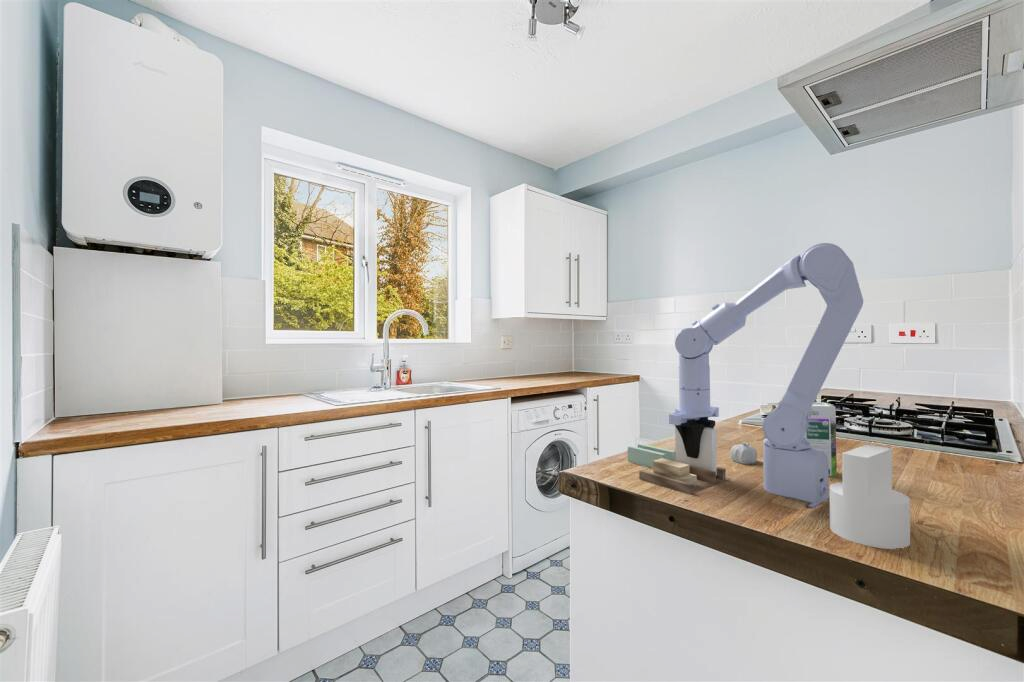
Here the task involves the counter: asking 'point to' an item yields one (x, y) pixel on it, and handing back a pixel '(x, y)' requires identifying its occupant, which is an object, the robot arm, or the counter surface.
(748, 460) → the garlic
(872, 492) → the cylinder with rectangular tab
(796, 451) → the robot arm
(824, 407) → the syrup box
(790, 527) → the counter surface
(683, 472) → the offcut stack
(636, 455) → the stand
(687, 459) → the white square panel
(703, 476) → the rack
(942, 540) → the counter surface
